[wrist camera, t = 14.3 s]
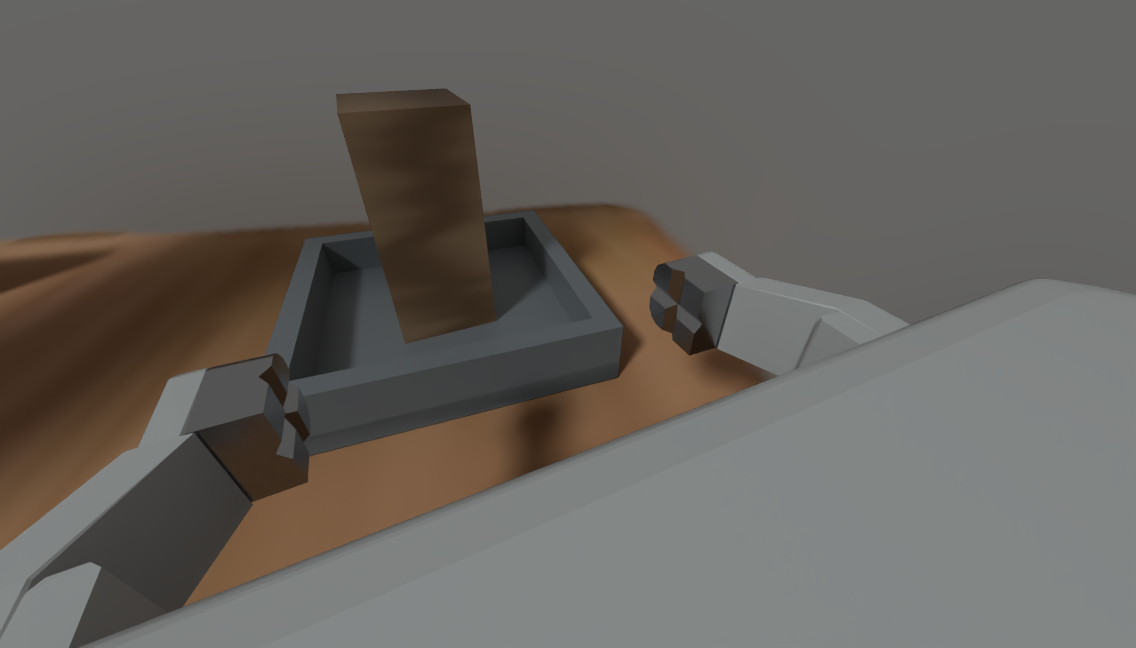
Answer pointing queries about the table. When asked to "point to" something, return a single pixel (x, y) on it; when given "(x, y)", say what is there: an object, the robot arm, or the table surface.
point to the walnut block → (422, 205)
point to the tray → (437, 337)
